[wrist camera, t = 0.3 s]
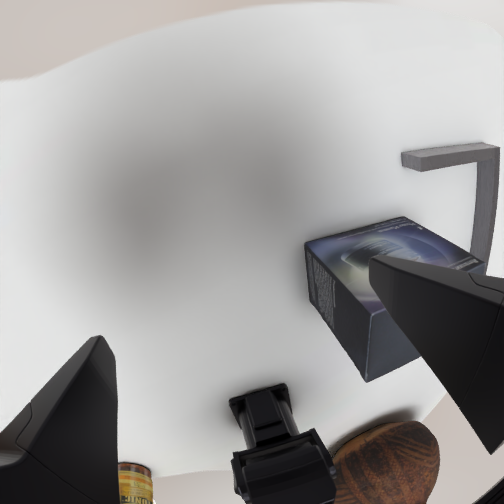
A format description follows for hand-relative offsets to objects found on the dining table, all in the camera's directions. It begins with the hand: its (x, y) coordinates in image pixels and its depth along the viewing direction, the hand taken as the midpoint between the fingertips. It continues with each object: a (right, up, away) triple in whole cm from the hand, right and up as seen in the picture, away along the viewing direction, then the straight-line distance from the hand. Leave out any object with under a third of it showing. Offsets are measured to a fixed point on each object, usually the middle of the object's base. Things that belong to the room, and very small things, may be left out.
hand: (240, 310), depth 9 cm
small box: (+10, +1, +17) cm, 20 cm away
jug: (+21, -33, +36) cm, 53 cm away
